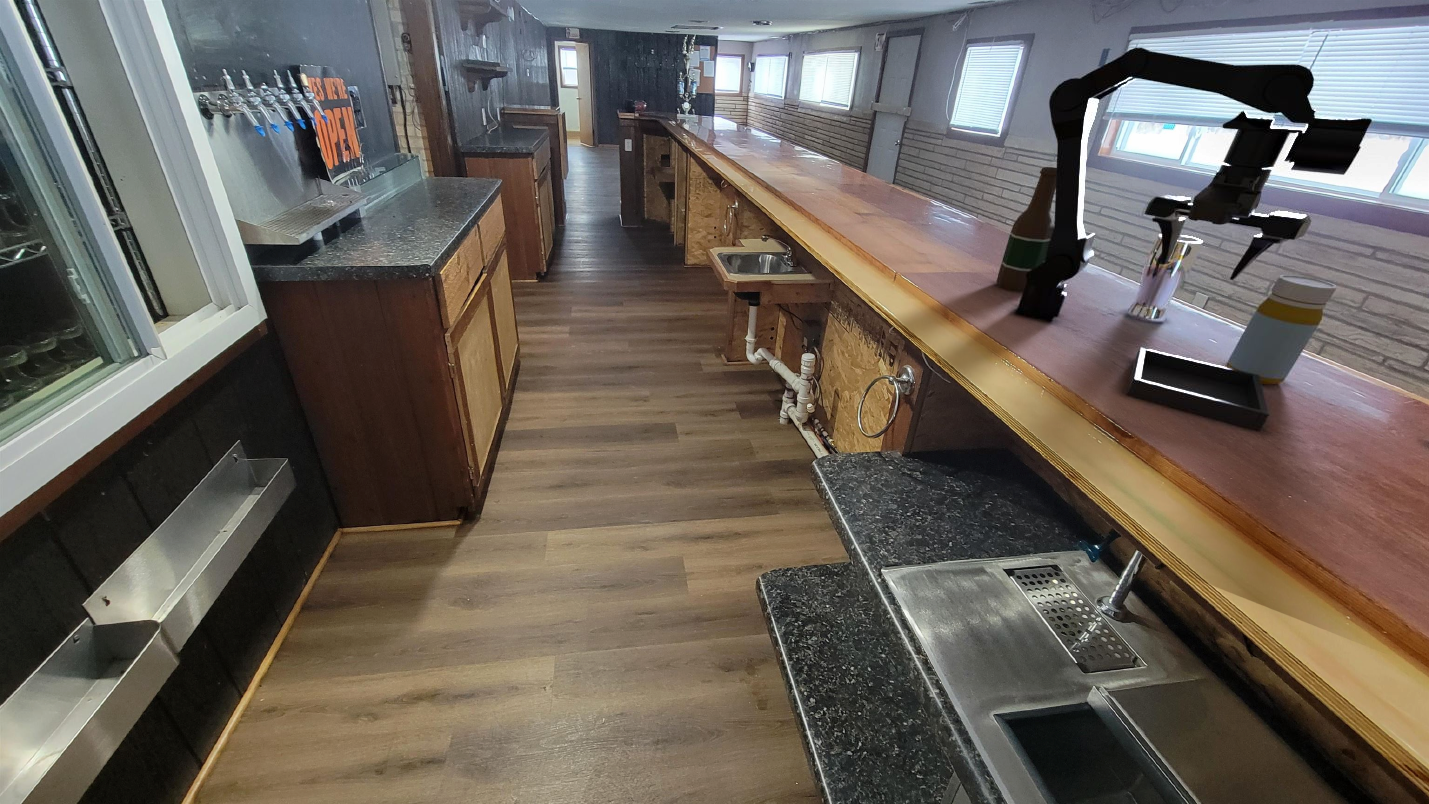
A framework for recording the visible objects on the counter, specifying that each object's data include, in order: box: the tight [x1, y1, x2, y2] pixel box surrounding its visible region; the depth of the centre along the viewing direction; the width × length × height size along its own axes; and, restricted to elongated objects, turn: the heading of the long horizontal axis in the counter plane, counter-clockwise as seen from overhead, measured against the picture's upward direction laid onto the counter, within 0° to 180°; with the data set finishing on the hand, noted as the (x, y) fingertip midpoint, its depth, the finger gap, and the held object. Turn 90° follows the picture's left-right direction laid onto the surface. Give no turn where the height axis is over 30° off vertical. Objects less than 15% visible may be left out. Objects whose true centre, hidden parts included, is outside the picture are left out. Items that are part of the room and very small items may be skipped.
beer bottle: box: [996, 166, 1057, 293], centre depth 116 cm, size 8×8×24 cm
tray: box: [1126, 346, 1270, 432], centre depth 80 cm, size 15×15×2 cm
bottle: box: [1225, 274, 1338, 386], centre depth 83 cm, size 7×7×15 cm
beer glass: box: [1126, 233, 1204, 323], centre depth 105 cm, size 7×7×15 cm
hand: (1196, 271), depth 89 cm, fingers open, 9 cm apart
